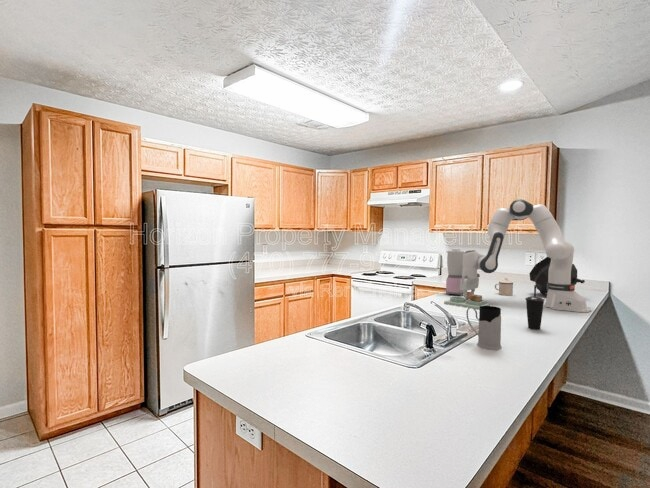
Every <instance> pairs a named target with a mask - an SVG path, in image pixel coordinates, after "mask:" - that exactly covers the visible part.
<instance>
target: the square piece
mask: <svg viewBox="0 0 650 488" xmlns="http://www.w3.org/2000/svg"><path fill="white" fill-rule="evenodd" d="M482 300H483V295H481V294H480V295H479V294H474V295H470V301H475V302H481V301H482Z"/></svg>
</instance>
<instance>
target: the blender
mask: <svg viewBox="0 0 650 488" xmlns="http://www.w3.org/2000/svg"><path fill="white" fill-rule="evenodd" d="M446 253H447V257H446V258H447V259H446V260H447V261H446V264H447V266H446V267H447V273H448V275H447V278H446V283H445V285H446V286H445V293H446V295H447V296H450V295H459V297H464V293H463V291H460V281H461V279H462V269H463V255H464V253H465V251H462V250H461V249H459V248H452V249H451V250H446Z"/></svg>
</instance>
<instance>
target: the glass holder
mask: <svg viewBox="0 0 650 488" xmlns="http://www.w3.org/2000/svg"><path fill="white" fill-rule="evenodd" d="M470 309H473V311H474V314H475V318H476V320H478V332H477V330H475V328H474V327H473V326H472V323H471V322H470V319H469V310H470ZM478 313H479V316H478ZM501 314H502V309H501V307H498V306H493V305H490V306H480V309H478V311H477V309H475V308H472V307H471V308H467V310H466V320H467V323H468V325H469V326H470V328H471V329H472V330H473V332H475V334H476V335H477V336H478V337H477V339H478V340H477V343H476V345H477V347H479V348H481V349H485V350H491V351H498V350H499V351H500V350H501V349H502V345H501V343H502V342H501V341H502V340H501V339H502V338H501V337H502V335H501V334H502V315H501ZM478 317H479V318H478Z"/></svg>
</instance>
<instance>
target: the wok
mask: <svg viewBox="0 0 650 488" xmlns="http://www.w3.org/2000/svg"><path fill="white" fill-rule="evenodd" d="M550 263H551V258H549V257H548V256H547V257H545V258H543V259H542V260H540V261H539V262H537V263H536V264H535V265H534V267H533V268H532V269H531V271H530V272H529V273H528V274H529V280H530V281H531V282H534V283H535V284H534V285H536V290H539V293H540V294H542V295H547V283H548V272H549V267H550ZM585 281H586V280H585V279H580V278H578V269H577V268H576V265H575V264H574V263H572V267H571V284H572V285H573V286H575V287H576V285H577V283H580V284H584V283H585Z"/></svg>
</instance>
